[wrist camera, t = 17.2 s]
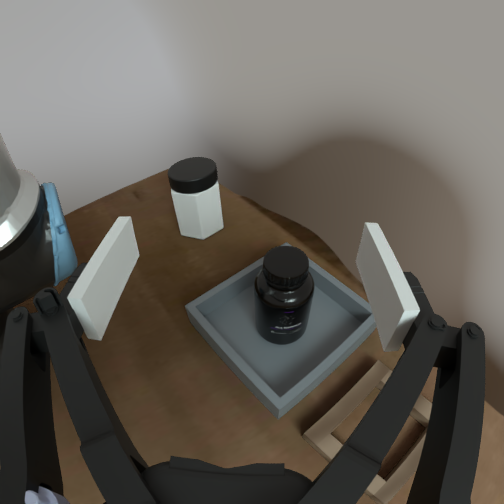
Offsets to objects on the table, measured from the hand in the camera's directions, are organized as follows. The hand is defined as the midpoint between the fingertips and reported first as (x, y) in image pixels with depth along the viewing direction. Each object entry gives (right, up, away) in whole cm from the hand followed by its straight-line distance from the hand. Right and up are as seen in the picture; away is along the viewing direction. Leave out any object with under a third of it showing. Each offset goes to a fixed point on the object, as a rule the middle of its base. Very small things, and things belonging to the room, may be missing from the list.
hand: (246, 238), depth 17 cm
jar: (-9, +4, +41) cm, 42 cm away
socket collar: (+15, -22, +12) cm, 29 cm away
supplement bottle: (+4, -10, +23) cm, 26 cm away
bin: (+4, -11, +24) cm, 27 cm away
